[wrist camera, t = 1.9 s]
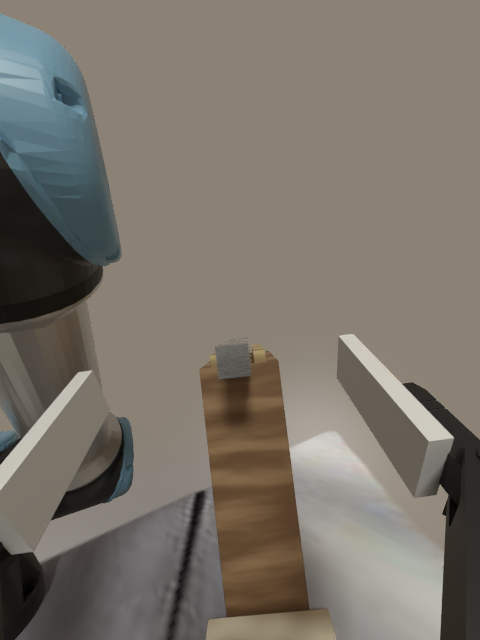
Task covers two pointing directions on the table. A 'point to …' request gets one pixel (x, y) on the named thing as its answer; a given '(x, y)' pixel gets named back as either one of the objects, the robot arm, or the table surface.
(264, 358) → the wooden rectangular column
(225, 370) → the block
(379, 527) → the table surface
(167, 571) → the table surface
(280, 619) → the board
